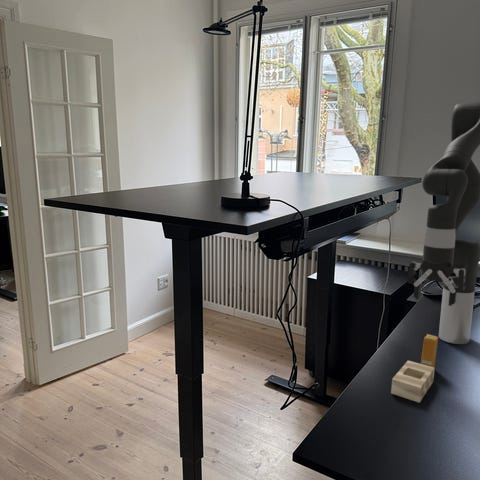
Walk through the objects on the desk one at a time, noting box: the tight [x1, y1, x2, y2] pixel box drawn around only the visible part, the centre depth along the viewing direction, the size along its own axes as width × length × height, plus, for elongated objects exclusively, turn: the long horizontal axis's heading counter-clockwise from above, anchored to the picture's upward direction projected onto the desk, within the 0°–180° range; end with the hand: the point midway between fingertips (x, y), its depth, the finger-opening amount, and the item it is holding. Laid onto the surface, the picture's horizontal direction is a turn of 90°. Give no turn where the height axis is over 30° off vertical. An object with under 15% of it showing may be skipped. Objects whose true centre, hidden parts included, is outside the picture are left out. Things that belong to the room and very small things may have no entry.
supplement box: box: [420, 333, 439, 368], centre depth 124 cm, size 3×3×10 cm
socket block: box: [390, 360, 435, 404], centre depth 115 cm, size 13×7×4 cm, turn 143°
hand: (433, 302), depth 121 cm, fingers open, 8 cm apart
